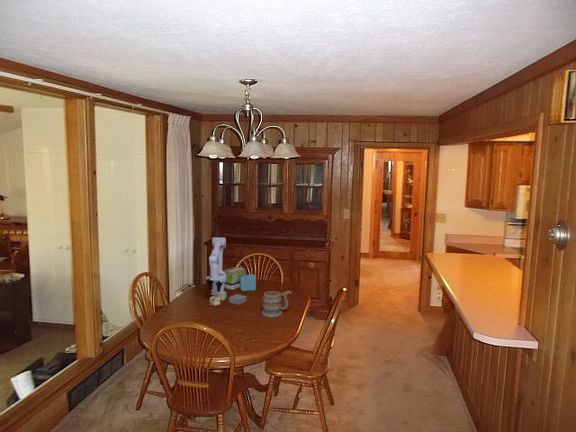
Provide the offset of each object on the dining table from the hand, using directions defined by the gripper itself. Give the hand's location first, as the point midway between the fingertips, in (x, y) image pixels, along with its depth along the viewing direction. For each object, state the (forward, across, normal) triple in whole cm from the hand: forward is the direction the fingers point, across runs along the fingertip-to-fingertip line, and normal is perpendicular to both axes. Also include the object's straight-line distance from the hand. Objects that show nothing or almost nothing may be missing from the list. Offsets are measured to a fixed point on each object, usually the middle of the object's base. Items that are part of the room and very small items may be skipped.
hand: (214, 290), depth 294 cm
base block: (+10, +10, +13) cm, 19 cm away
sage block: (+10, -4, +11) cm, 15 cm away
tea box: (+10, -16, +39) cm, 43 cm away
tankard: (+10, +47, +11) cm, 49 cm away
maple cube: (+10, 0, 0) cm, 10 cm away
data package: (+10, -2, +39) cm, 40 cm away
